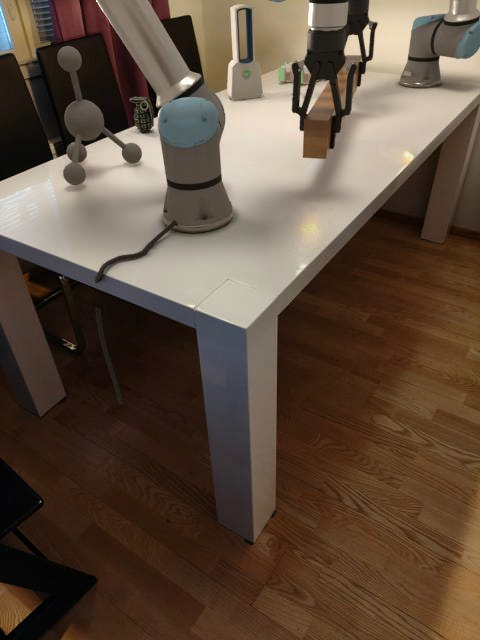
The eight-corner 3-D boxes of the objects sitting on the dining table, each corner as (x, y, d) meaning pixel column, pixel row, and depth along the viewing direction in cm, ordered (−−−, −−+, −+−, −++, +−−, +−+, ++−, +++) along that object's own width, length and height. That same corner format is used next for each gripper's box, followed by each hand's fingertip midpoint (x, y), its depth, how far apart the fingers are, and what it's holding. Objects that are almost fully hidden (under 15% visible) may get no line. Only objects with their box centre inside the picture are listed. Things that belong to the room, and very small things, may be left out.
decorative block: (301, 54, 217) (341, 57, 207) (300, 70, 221) (340, 74, 211) (269, 65, 201) (312, 69, 191) (269, 82, 205) (311, 87, 195)
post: (326, 159, 105) (328, 120, 100) (302, 157, 107) (303, 119, 102) (359, 83, 158) (362, 55, 153) (343, 82, 159) (345, 55, 154)
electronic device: (231, 100, 184) (226, 7, 166) (227, 96, 190) (221, 5, 172) (263, 96, 187) (261, 4, 168) (257, 92, 192) (255, 2, 174)
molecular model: (153, 175, 128) (132, 46, 109) (67, 191, 122) (30, 58, 104) (135, 149, 145) (114, 34, 127) (59, 162, 140) (26, 43, 121)
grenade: (132, 133, 158) (127, 100, 152) (139, 128, 162) (134, 95, 156) (151, 133, 157) (146, 100, 150) (158, 128, 161) (153, 96, 155)
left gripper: (375, 25, 97) (361, 143, 111) (285, 24, 101) (283, 138, 115) (373, 30, 91) (358, 154, 105) (277, 30, 95) (275, 149, 110)
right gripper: (389, -5, 140) (380, 82, 154) (326, -3, 144) (322, 82, 159) (388, -3, 134) (378, 88, 149) (322, 0, 139) (318, 88, 153)
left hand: (319, 146), depth 110 cm, fingers closed on post, 5 cm apart
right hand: (349, 85), depth 154 cm, fingers closed on post, 5 cm apart
